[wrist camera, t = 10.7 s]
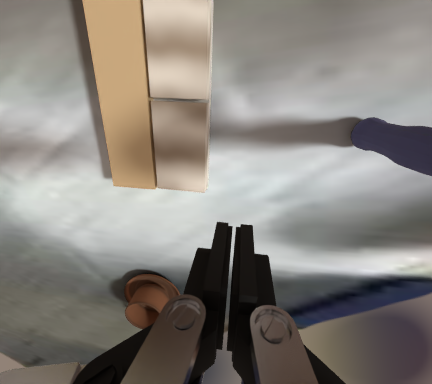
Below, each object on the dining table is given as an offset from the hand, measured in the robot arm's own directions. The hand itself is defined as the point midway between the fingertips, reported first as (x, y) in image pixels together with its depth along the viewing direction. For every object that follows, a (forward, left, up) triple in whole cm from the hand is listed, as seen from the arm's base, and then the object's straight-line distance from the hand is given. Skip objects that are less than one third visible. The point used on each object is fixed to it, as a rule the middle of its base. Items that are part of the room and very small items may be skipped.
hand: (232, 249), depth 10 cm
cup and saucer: (+32, -15, -24) cm, 42 cm away
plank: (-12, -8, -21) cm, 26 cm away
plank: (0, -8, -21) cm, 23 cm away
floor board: (-6, -11, -23) cm, 27 cm away
